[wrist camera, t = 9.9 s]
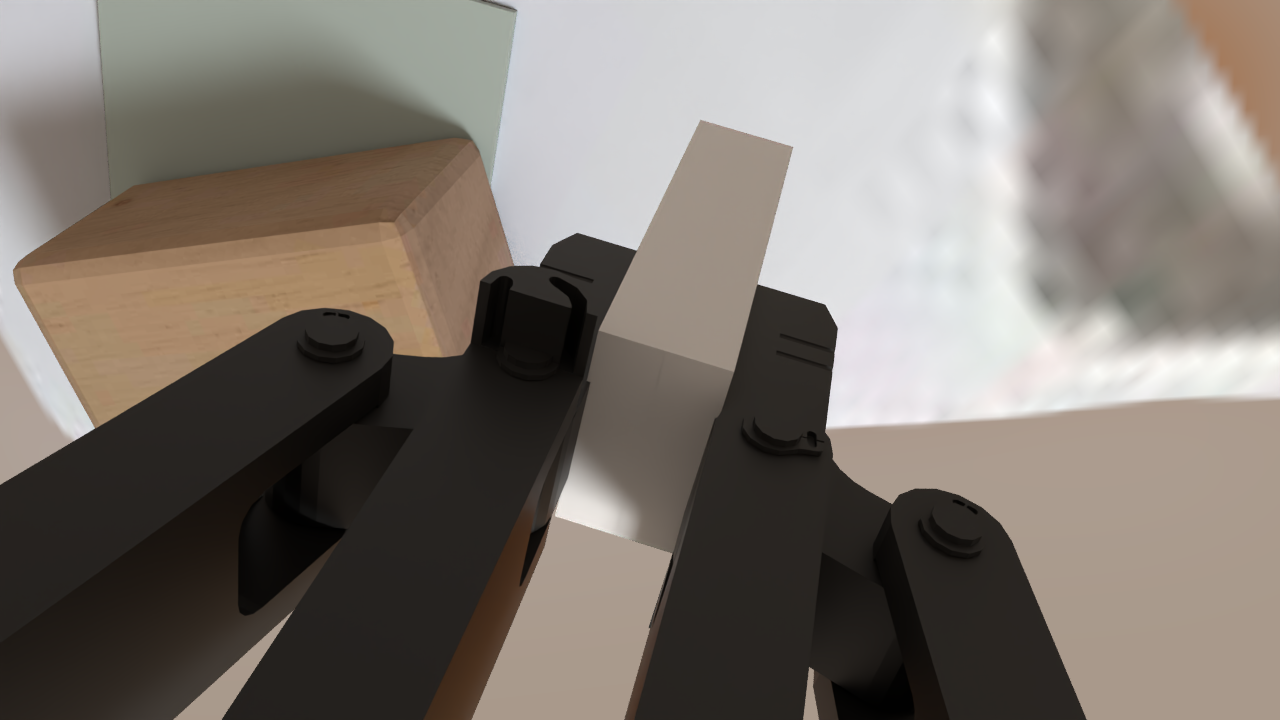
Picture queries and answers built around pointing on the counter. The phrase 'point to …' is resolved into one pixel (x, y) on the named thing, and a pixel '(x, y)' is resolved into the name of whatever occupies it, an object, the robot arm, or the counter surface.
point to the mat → (294, 81)
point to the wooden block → (265, 264)
